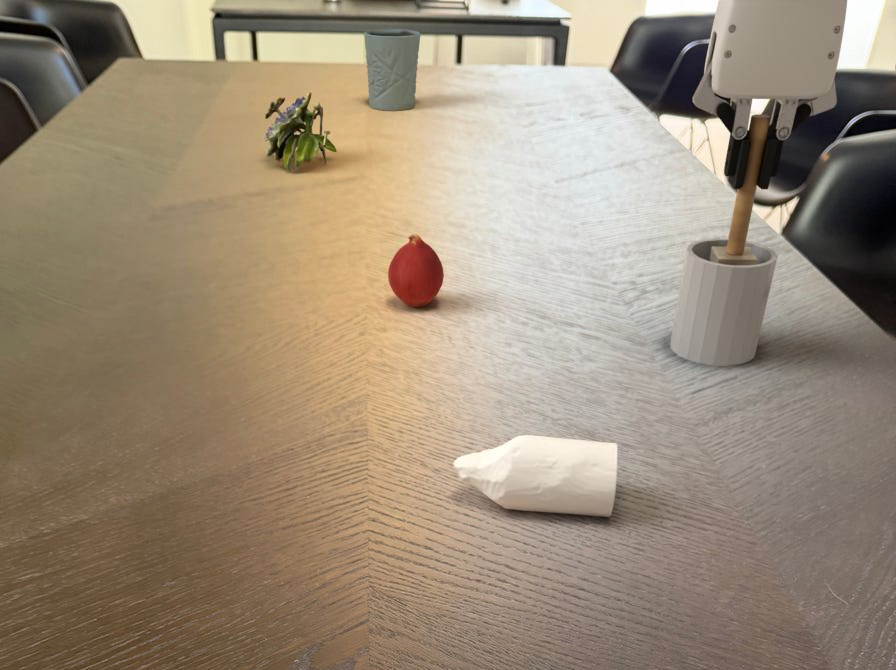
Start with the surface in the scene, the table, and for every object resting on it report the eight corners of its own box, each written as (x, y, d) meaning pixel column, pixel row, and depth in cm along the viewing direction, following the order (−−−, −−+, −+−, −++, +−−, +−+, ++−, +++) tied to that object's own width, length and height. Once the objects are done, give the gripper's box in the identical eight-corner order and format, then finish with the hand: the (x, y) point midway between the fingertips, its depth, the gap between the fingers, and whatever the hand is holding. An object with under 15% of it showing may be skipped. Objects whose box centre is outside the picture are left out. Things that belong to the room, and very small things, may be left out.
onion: (407, 296, 112) (407, 221, 107) (452, 306, 109) (454, 230, 104) (379, 312, 108) (377, 236, 103) (425, 323, 105) (426, 245, 100)
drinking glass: (358, 109, 186) (356, 34, 179) (376, 98, 194) (375, 26, 186) (409, 113, 184) (409, 37, 176) (426, 102, 191) (427, 29, 184)
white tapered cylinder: (456, 481, 80) (458, 416, 76) (607, 491, 79) (617, 426, 75) (448, 521, 75) (450, 454, 72) (609, 532, 74) (620, 465, 71)
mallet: (742, 284, 97) (777, 111, 87) (750, 297, 94) (787, 121, 85) (704, 283, 97) (735, 111, 88) (711, 296, 94) (744, 120, 85)
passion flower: (282, 196, 160) (275, 120, 160) (348, 185, 158) (341, 108, 158) (258, 169, 149) (250, 86, 149) (328, 156, 147) (321, 73, 147)
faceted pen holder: (744, 339, 103) (766, 239, 96) (761, 373, 96) (786, 268, 90) (664, 337, 103) (680, 237, 97) (675, 370, 97) (694, 265, 90)
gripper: (883, -70, 81) (825, 175, 92) (687, -70, 81) (653, 173, 93) (914, -62, 75) (848, 198, 86) (702, -63, 75) (664, 195, 87)
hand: (747, 183), depth 90 cm, fingers closed on mallet
